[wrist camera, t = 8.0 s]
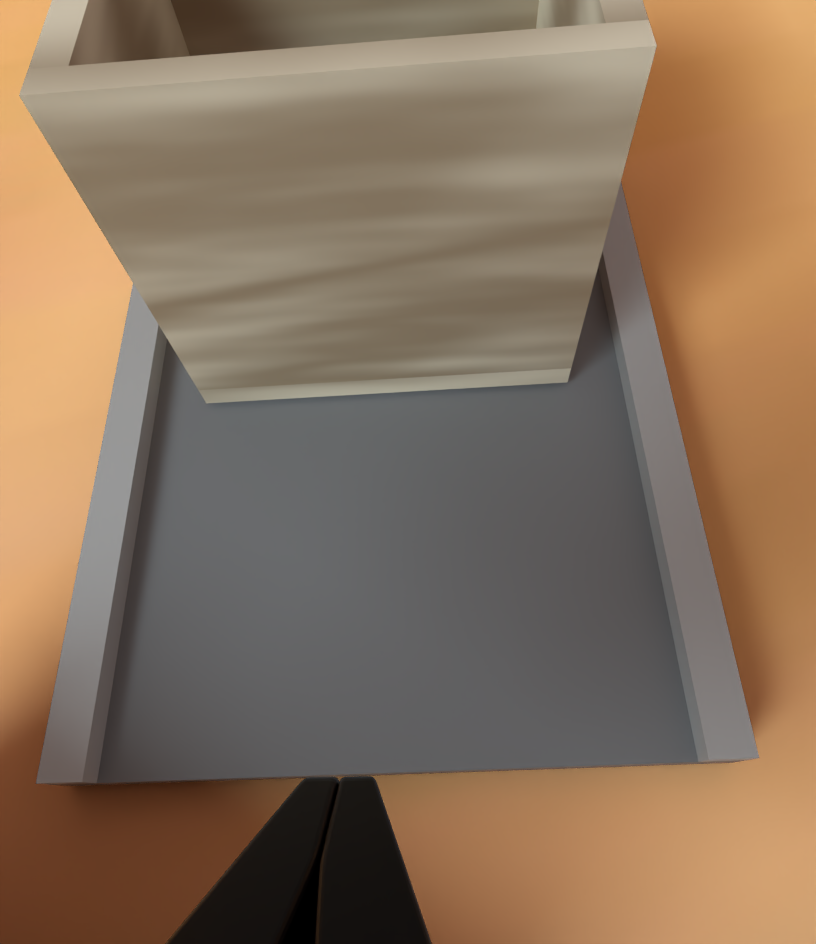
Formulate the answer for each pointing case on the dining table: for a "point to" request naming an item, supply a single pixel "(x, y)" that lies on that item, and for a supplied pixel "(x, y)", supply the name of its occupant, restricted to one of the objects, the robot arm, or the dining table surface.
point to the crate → (350, 179)
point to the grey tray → (397, 575)
